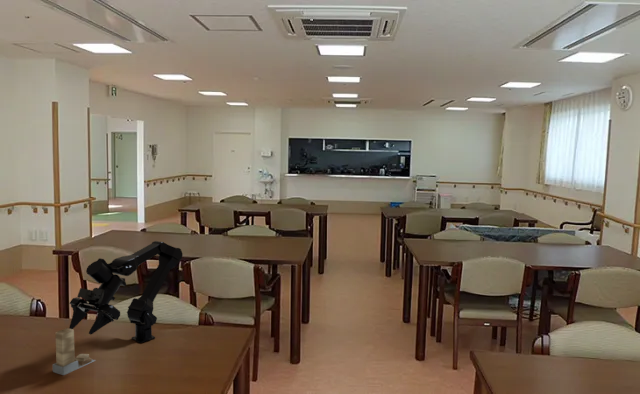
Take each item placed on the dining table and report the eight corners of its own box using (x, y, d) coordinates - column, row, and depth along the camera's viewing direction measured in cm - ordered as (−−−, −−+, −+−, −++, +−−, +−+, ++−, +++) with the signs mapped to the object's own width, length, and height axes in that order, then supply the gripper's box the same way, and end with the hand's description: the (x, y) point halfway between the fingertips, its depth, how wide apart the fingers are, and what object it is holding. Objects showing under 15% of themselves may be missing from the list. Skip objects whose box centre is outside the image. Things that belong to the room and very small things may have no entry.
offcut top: (80, 356, 161) (80, 353, 161) (89, 357, 161) (89, 354, 160) (75, 360, 158) (75, 357, 158) (84, 361, 158) (83, 357, 158)
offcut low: (83, 359, 162) (83, 355, 162) (91, 361, 160) (91, 358, 160) (73, 363, 159) (73, 359, 159) (82, 365, 157) (82, 362, 157)
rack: (85, 361, 163) (85, 350, 163) (95, 364, 161) (95, 353, 161) (52, 376, 153) (52, 364, 152) (63, 379, 150) (63, 367, 150)
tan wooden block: (68, 366, 156) (67, 327, 155) (74, 368, 155) (73, 329, 154) (56, 371, 153) (55, 332, 151) (63, 373, 151) (61, 334, 150)
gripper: (73, 274, 165) (44, 315, 156) (112, 281, 157) (84, 325, 148) (93, 291, 173) (66, 330, 164) (131, 298, 165) (105, 340, 156)
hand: (80, 331), depth 158 cm, fingers open, 9 cm apart
